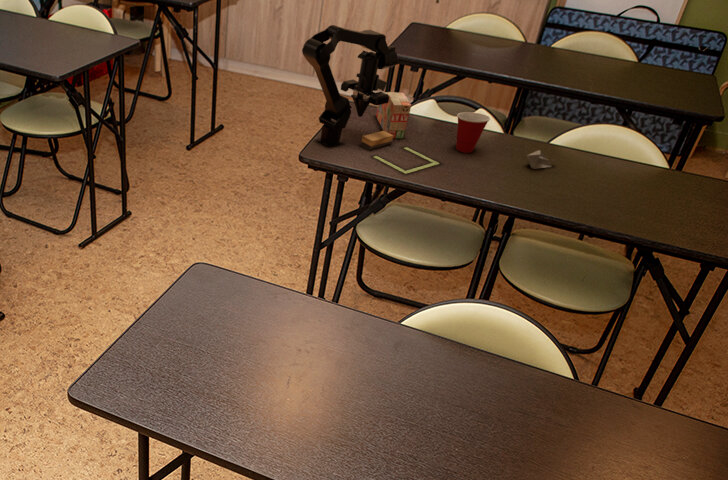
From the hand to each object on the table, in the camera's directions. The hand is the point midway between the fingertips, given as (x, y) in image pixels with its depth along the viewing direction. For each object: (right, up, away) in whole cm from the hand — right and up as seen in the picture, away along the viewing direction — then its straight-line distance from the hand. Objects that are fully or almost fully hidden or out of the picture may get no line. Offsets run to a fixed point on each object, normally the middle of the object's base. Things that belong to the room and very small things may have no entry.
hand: (360, 116), depth 244 cm
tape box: (+13, -19, -11) cm, 25 cm away
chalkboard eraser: (+5, -11, -2) cm, 12 cm away
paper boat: (+56, -23, -14) cm, 62 cm away
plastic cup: (+36, -13, -3) cm, 38 cm away
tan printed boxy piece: (+14, 0, +11) cm, 18 cm away
